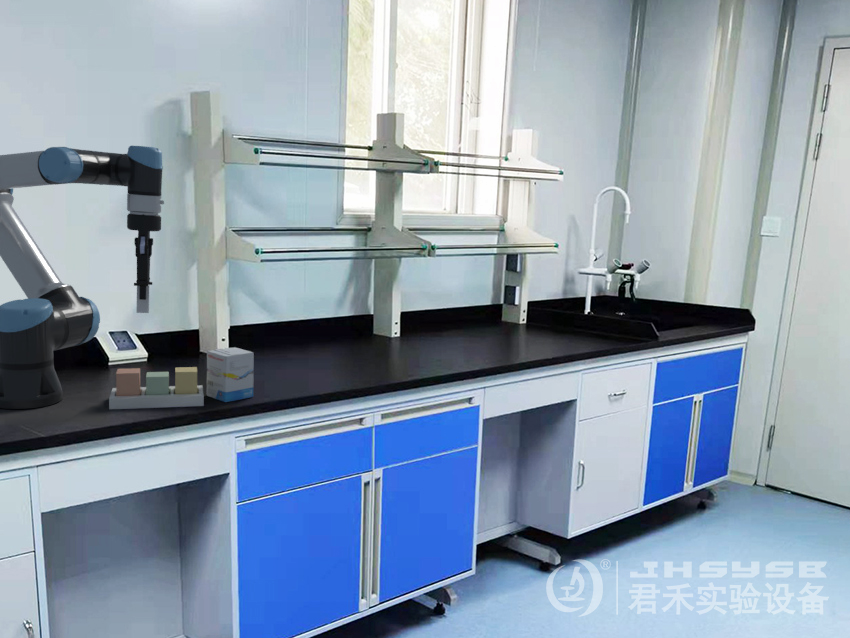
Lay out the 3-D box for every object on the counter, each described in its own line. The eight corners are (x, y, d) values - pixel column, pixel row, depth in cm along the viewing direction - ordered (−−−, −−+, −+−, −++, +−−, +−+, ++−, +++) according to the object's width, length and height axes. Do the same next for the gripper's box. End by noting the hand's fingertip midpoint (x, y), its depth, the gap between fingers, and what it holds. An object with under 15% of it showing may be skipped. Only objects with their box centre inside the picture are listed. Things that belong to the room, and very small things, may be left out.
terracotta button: (116, 398, 174) (116, 373, 173) (118, 393, 179) (117, 368, 178) (139, 397, 176) (139, 373, 175) (140, 392, 180) (140, 368, 180)
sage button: (146, 401, 176) (146, 377, 175) (147, 396, 181) (146, 372, 180) (168, 401, 178) (168, 376, 177) (168, 395, 183) (168, 371, 182)
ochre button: (175, 396, 178) (175, 372, 177) (175, 391, 183) (175, 367, 182) (197, 396, 180) (197, 371, 179) (196, 390, 185) (196, 367, 184)
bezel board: (109, 409, 172) (109, 398, 171) (112, 398, 181) (112, 387, 181) (203, 405, 178) (203, 395, 178) (202, 395, 188) (202, 385, 187)
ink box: (254, 397, 188) (254, 351, 186) (225, 402, 182) (225, 356, 180) (234, 390, 194) (234, 346, 192) (205, 395, 187) (205, 350, 186)
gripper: (160, 215, 171) (157, 317, 175) (162, 213, 183) (160, 308, 187) (124, 213, 169) (123, 316, 172) (129, 211, 181) (128, 307, 185)
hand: (142, 312), depth 180 cm, fingers closed
